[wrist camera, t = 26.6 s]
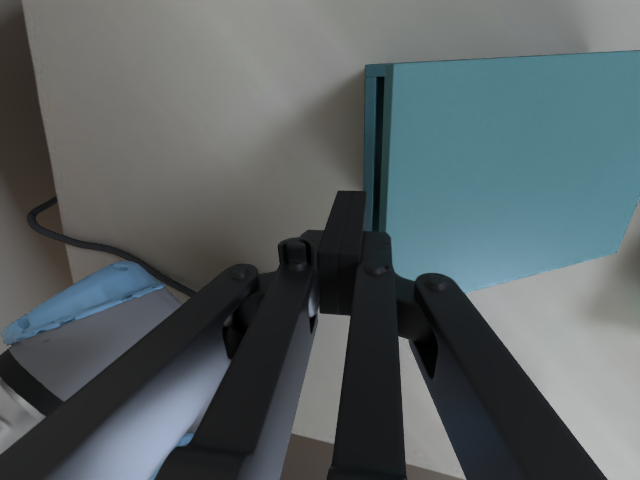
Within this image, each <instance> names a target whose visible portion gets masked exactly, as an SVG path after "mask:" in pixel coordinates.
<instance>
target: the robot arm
mask: <svg viewBox="0 0 640 480" xmlns="http://www.w3.org/2000/svg"><path fill="white" fill-rule="evenodd" d="M57 202H58V199H57V195H56V196H55V197H53V198H51V199H50V200H48V201H47V202H45V203H43V204H41V205H39V206H37V207H35V208H34V209H32V210H31V211H30V212H29V213H28V216H27V221H28V224H29V226H30V227H31V228H32V229H34V230H35V231H37V232H38V233H40V234H43V235H45V236H47V237H50V238H53V239H56V240H58V241H61V242H64V243H67V244H70V245H73V246H76V247H80V248H86V249H92V250H99V251H104V252H108V253H111V254H114V255H117V256H119V257H122V258H124V259H126V260H128V261H119V262H115V263H113V264H110V265H108V266H106V267H104V268H102V269H100V270H99V271H97V272H95V273H93V274H91V275H89V276H88V277H86V278H84V279H82V280H80V281H79V282H77V283H75V284H73V285H72V286H70V287H68V288H67V289H65V290H63V291H62V292H60V293H58V294H56V295H55V296H53V297H52V298H50V299H48V300H47V301H45V302H43V303H42V304H40V305H39V306H37V307H35V308H34V309H32V310H31V311H29V313H27V314H25V315H24V316H22V317H21V318H20V319H18V320H16V321H14V322H12V323H11V324H9V325H8V326H7V327H6V328H5V329H4V330H3V331H2V332H1V336H2V338H3V341H4V343H5V344H6V345H12V346H11V347H10V348H9V349H7V350H6V351H5V352H4V353H2V354H1V355H0V480H279V479H280V475H281V471H282V467H283V463H284V459H285V455H286V451H287V446H288V442H289V438H290V434H291V430H292V426H293V422H294V418H295V414H296V410H297V406H298V401H299V397H300V393H301V389H302V385H303V381H304V377H305V373H306V369H307V365H308V360H309V356H310V352H311V348H312V344H313V340H314V336H315V332H316V328H317V323H318V316H317V311H318V307H319V308H320V313H323V314H336V315H349V316H351V318H350V326H349V333H348V341H347V349H346V357H345V365H344V373H343V381H342V388H341V396H340V404H339V412H338V420H337V428H336V436H335V443H334V453H333V459H332V464H331V467H330V468H329V471H328V475H327V480H408V479H407V476H406V465H405V448H404V430H403V413H402V395H401V377H400V360H399V342H398V336H400V337H403V338H406V339H409V345H410V348H411V350H412V352H413V355H414V357H415V359H416V362H417V364H418V366H419V369H420V371H421V373H422V376H423V378H424V380H425V383H426V385H427V388H428V390H429V392H430V395H431V397H432V399H433V402H434V404H435V406H436V409H437V411H438V413H439V416H440V418H441V420H442V423H443V425H444V427H445V430H446V432H447V434H448V437H449V439H450V442H451V444H452V446H453V449H454V451H455V453H456V456H457V458H458V460H459V463H460V465H461V467H462V470H463V472H464V474H465V477H466V479H467V480H607V478H606V477H605V476H604V474H603V473H602V472H601V470H600V469H599V468H598V467H597V465H596V464H595V463H594V461H593V460H592V459H591V457H590V456H589V455H588V454H587V452H586V451H585V450H584V448H583V447H582V446H581V444H580V443H579V442H578V441H577V439H576V438H575V437H574V435H573V434H572V433H571V431H570V430H569V429H568V428H567V426H566V425H565V424H564V422H563V421H562V420H561V418H560V417H559V416H558V414H557V413H556V412H555V411H554V409H553V408H552V407H551V405H550V404H549V403H548V401H547V400H546V399H545V398H544V396H543V395H542V394H541V392H540V391H539V390H538V388H537V387H536V386H535V385H534V383H533V382H532V381H531V379H530V378H529V377H528V375H527V374H526V373H525V372H524V370H523V369H522V368H521V366H520V365H519V364H518V362H517V361H516V360H515V359H514V357H513V356H512V355H511V353H510V352H509V351H508V349H507V348H506V347H505V346H504V344H503V343H502V342H501V340H500V339H499V338H498V336H497V335H496V334H495V333H494V331H493V330H492V329H491V327H490V326H489V325H488V323H487V322H486V321H485V319H484V318H483V317H482V316H481V314H480V313H479V312H478V310H477V309H476V308H475V306H474V305H473V304H472V303H471V301H470V300H469V299H468V297H467V296H466V295H465V293H464V292H463V291H462V290H461V288H460V287H459V286H458V284H457V283H456V282H455V281H454V280H453V279H452V278H450V277H448V276H446V275H443V274H439V273H425V274H421V275H420V276H418V277H417V278H416V280H415V281H412V280H409V279H406V278H403V277H401V276H399V275H398V274H397V273H395V271H394V268H393V264H392V246H391V237H390V236H389V234H388V233H387V232H378V231H366V203H367V191H338V192H337V195H336V198H335V201H334V204H333V206H332V209H331V212H330V215H329V218H328V221H327V224H326V227H325V230H307V231H306V232H304V233H303V234H302V235H301V236H300V237H298V238H289V239H286V240H284V241H281V242H280V243H279V244H278V253H279V262H280V265H279V267H278V269H277V271H275V272H270V273H263V274H258V269H257V268H256V267H255V266H253V265H250V264H237V265H234V266H231V267H229V268H227V269H226V270H224V271H223V272H222V273H220V274H219V275H218V276H217V277H216V278H214V279H213V280H212V281H211V282H210V283H208V284H207V285H206V286H205V287H203V288H202V289H201V290H200V291H199V292H195V291H193V290H191V289H189V288H187V287H185V286H183V285H182V284H180V283H178V282H176V281H174V280H172V279H170V278H169V277H167V276H165V275H163V274H162V273H160V272H159V271H157V270H155V269H154V268H152V267H151V266H149V265H148V264H146V263H145V262H143V261H141V260H140V259H138V258H136V257H135V256H133V255H131V254H129V253H127V252H125V251H122V250H120V249H117V248H114V247H111V246H108V245H103V244H97V243H90V242H84V241H80V240H76V239H73V238H70V237H67V236H64V235H61V234H58V233H56V232H53V231H50V230H48V229H45V228H43V227H42V226H40V225H39V224H38V223H37V222H36V219H35V218H36V216H37V215H38V214H39V213H40V212H42V211H44V210H46V209H48V208H49V207H51V206H52V205H54V204H56V203H57ZM153 276H154V277H156V278H157V279H159V280H161V281H162V282H164V283H166V284H168V285H169V286H171V287H173V288H175V289H177V290H179V291H181V292H183V293H185V294H187V295H188V296H190V297H191V298H190V299H189V300H188V301H186V302H185V303H184V304H183V305H182V304H181V303H180V302H179V301H178V300H177V299H176V298H175V297H174V296H173V295H172V294H171V293H170V292H169V291H168V290H167V289H166V288H165V286H166V285H165V284H164V283H160V282H159V281H158V280H157V279H155V278H154V277H153Z"/></svg>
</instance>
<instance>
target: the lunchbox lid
mask: <svg viewBox="0 0 640 480" xmlns="http://www.w3.org/2000/svg"><path fill="white" fill-rule="evenodd" d="M639 198H640V50H635V51H616V52H598V53H579V54H561V55H542V56H524V57H505V58H487V59H468V60H450V61H431V62H413V63H394V64H386V65H385V83H384V110H383V137H382V164H381V190H380V217H379V232H387V233H388V234H389V236H390V237H391V246H392V264H393V268H394V271H395V273H397V274H398V275H399V276H401V277H403V278H406V279H409V280H412V281H415V280H416V278H417V277H418V276H420V275H421V274H425V273H439V274H443V275H446V276H448V277H450V278H452V279H453V280H454V281H455V282H456V283H457V284H458V286H459V287H460V288H461V290H462V291H463V292H464V293H468V292H471V291H475V290H479V289H483V288H486V287H490V286H494V285H498V284H501V283H505V282H509V281H513V280H517V279H520V278H524V277H528V276H532V275H535V274H539V273H543V272H547V271H550V270H554V269H558V268H562V267H566V266H569V265H573V264H577V263H581V262H584V261H588V260H592V259H596V258H599V257H603V256H607V255H611V254H615V253H617V251H618V249H619V246H620V244H621V241H622V239H623V236H624V234H625V232H626V229H627V227H628V224H629V222H630V220H631V217H632V215H633V212H634V210H635V207H636V205H637V203H638V200H639Z"/></svg>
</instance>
